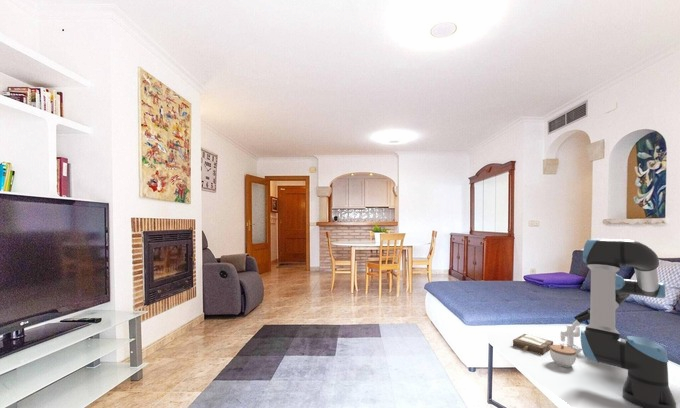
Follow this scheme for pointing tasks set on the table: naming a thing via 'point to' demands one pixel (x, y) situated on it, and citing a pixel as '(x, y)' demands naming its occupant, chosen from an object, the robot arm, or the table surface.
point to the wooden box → (532, 344)
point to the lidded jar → (563, 355)
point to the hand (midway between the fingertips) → (579, 334)
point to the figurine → (571, 337)
